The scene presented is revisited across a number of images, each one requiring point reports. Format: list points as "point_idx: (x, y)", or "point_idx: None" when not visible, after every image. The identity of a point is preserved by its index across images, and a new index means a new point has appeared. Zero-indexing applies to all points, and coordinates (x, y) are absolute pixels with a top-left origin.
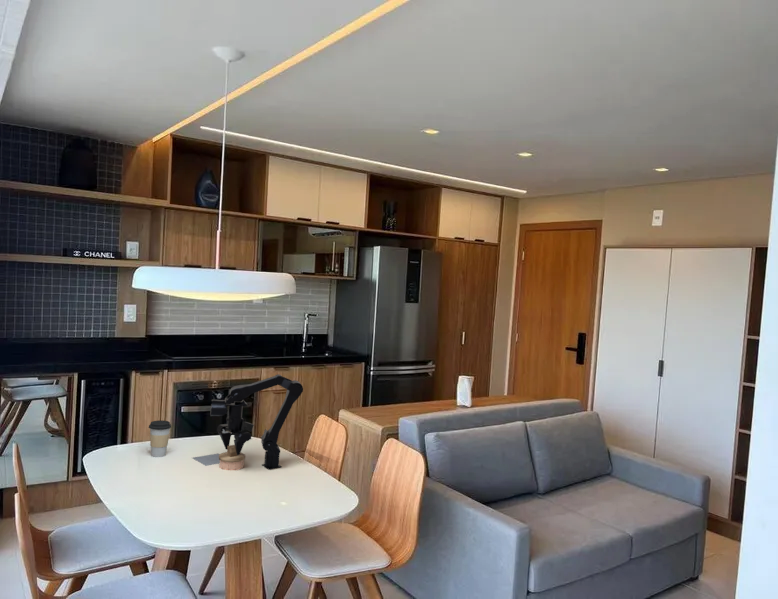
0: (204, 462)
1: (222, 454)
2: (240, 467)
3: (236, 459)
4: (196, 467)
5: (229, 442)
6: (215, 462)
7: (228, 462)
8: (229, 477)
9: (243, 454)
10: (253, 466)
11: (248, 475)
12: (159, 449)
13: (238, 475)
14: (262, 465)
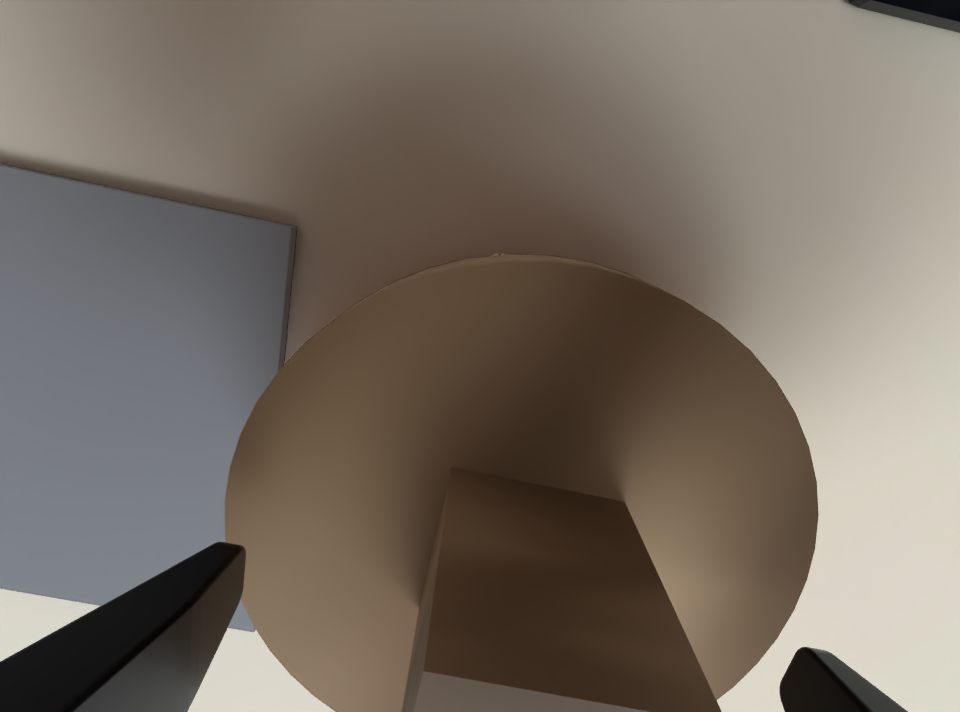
0: (123, 570)
1: (327, 639)
2: None
3: (764, 643)
4: (223, 697)
5: (89, 701)
6: (205, 476)
7: None
8: (765, 674)
9: (653, 323)
10: (730, 138)
11: (923, 491)
12: None
13: (809, 571)
14: (896, 8)
